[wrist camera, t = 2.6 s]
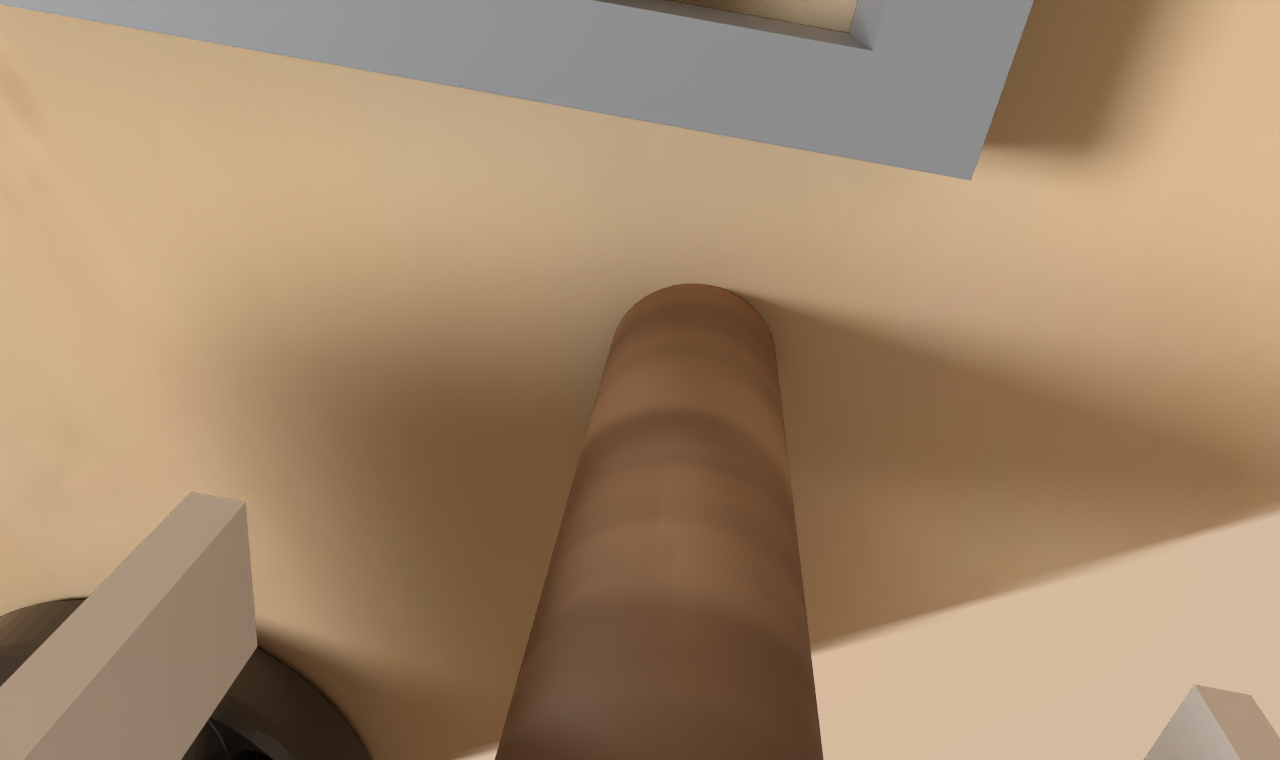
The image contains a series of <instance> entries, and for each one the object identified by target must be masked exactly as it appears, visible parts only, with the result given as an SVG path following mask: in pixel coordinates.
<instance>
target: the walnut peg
mask: <svg viewBox="0 0 1280 760" xmlns="http://www.w3.org/2000/svg"><path fill="white" fill-rule="evenodd" d="M495 760H823V753H822V744H821V736H820V728H819V719H818V712H817V702H816V693H815V685H814V677H813V668H812V660H811V651H810V643H809V634H808V626H807V617H806V609H805V600H804V592H803V583H802V575H801V566H800V558H799V550H798V541H797V533H796V524H795V516H794V507H793V499H792V490H791V482H790V473H789V465H788V456H787V448H786V439H785V431H784V423H783V414H782V406H781V397H780V389H779V380H778V372H777V363H776V355H775V347H774V343H773V339H772V336H771V334H770V331H769V329H768V327H767V325H766V324H765V322H764V320H763V319H762V317H761V316H760V315H759V314H758V313H757V311H756V310H755V309H754V308H753V307H751V306H750V305H749V304H748V303H747V302H745V301H744V300H743V299H741V298H740V297H738V296H736V295H734V294H733V293H731V292H728V291H726V290H723V289H721V288H717V287H713V286H709V285H702V284H682V285H675V286H671V287H667V288H663V289H661V290H658V291H656V292H654V293H652V294H650V295H648V296H646V297H644V298H643V299H642V300H640V301H639V302H638V303H636V304H635V305H634V306H633V307H632V308H631V309H630V310H629V311H628V312H627V314H626V315H625V316H624V318H623V319H622V321H621V322H620V324H619V326H618V328H617V330H616V333H615V335H614V338H613V342H612V345H611V349H610V352H609V356H608V359H607V363H606V367H605V370H604V374H603V377H602V381H601V384H600V388H599V391H598V395H597V399H596V402H595V406H594V409H593V413H592V416H591V420H590V423H589V427H588V431H587V434H586V438H585V441H584V445H583V448H582V452H581V455H580V459H579V463H578V466H577V470H576V473H575V477H574V480H573V484H572V487H571V491H570V495H569V498H568V502H567V505H566V509H565V512H564V516H563V519H562V523H561V526H560V530H559V534H558V537H557V541H556V544H555V548H554V551H553V555H552V558H551V562H550V566H549V569H548V573H547V576H546V580H545V583H544V587H543V590H542V594H541V598H540V601H539V605H538V608H537V612H536V615H535V619H534V622H533V626H532V630H531V633H530V637H529V640H528V644H527V647H526V651H525V654H524V658H523V662H522V665H521V669H520V672H519V676H518V679H517V683H516V686H515V690H514V694H513V697H512V701H511V704H510V708H509V711H508V715H507V718H506V722H505V725H504V729H503V733H502V736H501V740H500V743H499V747H498V750H497V754H496V757H495Z"/></svg>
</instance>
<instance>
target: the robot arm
mask: <svg viewBox="0 0 1280 760" xmlns="http://www.w3.org/2000/svg"><path fill="white" fill-rule="evenodd" d="M0 760H369V758H368V756H367V753H366V751H365V749H364V748H363V746H362V744H361V742H360V741H359V739H358V737H357V736H356V735H355V733H354V732H353V730H352V729H351V727H350V726H349V725H348V723H347V722H346V721H345V720H344V718H343V717H342V716H341V715H340V714H339V712H338V711H337V710H336V709H335V708H334V707H333V706H332V705H331V704H330V703H329V702H328V701H327V700H326V699H325V698H324V697H323V696H322V695H321V694H320V693H319V692H318V691H317V690H316V689H314V688H313V687H312V686H311V685H310V684H309V683H308V682H306V681H305V680H304V679H302V678H301V677H300V676H299V675H297V674H296V673H295V672H293V671H292V670H291V669H289V668H288V667H286V666H285V665H283V664H282V663H281V662H279V661H278V660H276V659H274V658H273V657H271V656H270V655H268V654H266V653H265V652H263V651H261V650H259V649H258V648H257V635H256V622H255V610H254V598H253V586H252V574H251V562H250V550H249V538H248V526H247V514H246V502H241V501H236V500H231V499H225V498H220V497H215V496H210V495H204V494H199V493H194V492H191V493H190V494H189V495H188V496H187V497H186V498H185V499H184V500H183V501H182V502H181V503H180V504H179V505H178V506H177V507H176V508H175V509H174V510H173V511H172V512H171V513H170V514H169V515H168V516H167V517H166V518H165V519H164V520H163V521H162V522H161V523H160V524H159V525H158V526H157V527H156V528H155V529H154V530H153V531H152V532H151V533H150V534H149V536H148V537H147V538H146V539H145V540H144V541H143V542H142V543H141V544H140V545H139V546H138V547H137V548H136V549H135V550H134V551H133V552H132V553H131V554H130V555H129V556H128V557H127V558H126V559H125V560H124V561H123V562H122V563H121V564H120V565H119V566H118V567H117V568H116V569H115V570H114V571H113V572H112V573H111V574H110V575H109V576H108V577H107V578H106V579H105V581H104V582H103V583H102V584H101V585H100V586H99V587H98V588H97V589H96V590H95V591H94V592H93V593H92V594H91V595H90V596H89V597H88V598H87V599H86V600H68V601H57V602H49V603H43V604H37V605H33V606H29V607H25V608H22V609H18V610H15V611H12V612H10V613H7V614H5V615H3V616H1V617H0ZM1144 760H1280V738H1279V736H1278V735H1277V733H1276V732H1275V730H1274V729H1273V728H1272V726H1271V725H1270V723H1269V722H1268V720H1267V719H1266V717H1265V716H1264V714H1263V713H1262V711H1261V710H1260V708H1259V707H1258V705H1257V704H1256V702H1255V701H1254V699H1253V698H1252V696H1250V695H1246V694H1241V693H1236V692H1230V691H1225V690H1220V689H1214V688H1210V687H1204V686H1199V685H1194V686H1193V688H1192V689H1191V690H1190V692H1189V693H1188V695H1187V696H1186V698H1185V699H1184V701H1183V702H1182V704H1181V705H1180V707H1179V708H1178V710H1177V711H1176V713H1175V714H1174V716H1173V717H1172V719H1171V720H1170V722H1169V723H1168V725H1167V726H1166V728H1165V729H1164V730H1163V732H1162V733H1161V735H1160V736H1159V738H1158V739H1157V741H1156V742H1155V744H1154V745H1153V747H1152V748H1151V750H1150V751H1149V752H1148V754H1147V756H1146V757H1145V758H1144Z"/></svg>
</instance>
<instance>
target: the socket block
mask: <svg viewBox="0 0 1280 760" xmlns="http://www.w3.org/2000/svg"><path fill="white" fill-rule="evenodd" d="M1033 2H1034V0H858V1H857V5H856V9H855V13H854V17H853V21H852V24H851V28H850V32H849V33H846V32H841V31H835V30H830V29H824V28H818V27H813V26H807V25H802V24H796V23H791V22H785V21H780V20H774V19H769V18H763V17H758V16H752V15H747V14H741V13H736V12H730V11H725V10H719V9H714V8H708V7H703V6H697V5H692V4H686V3H681V2H675V1H670V0H0V4H3V5H8V6H14V7H19V8H25V9H30V10H36V11H41V12H47V13H52V14H58V15H63V16H69V17H74V18H80V19H85V20H91V21H96V22H102V23H107V24H113V25H118V26H124V27H129V28H135V29H140V30H146V31H151V32H157V33H162V34H168V35H173V36H179V37H184V38H190V39H195V40H201V41H206V42H212V43H217V44H223V45H228V46H234V47H239V48H245V49H250V50H256V51H262V52H267V53H273V54H278V55H284V56H289V57H295V58H300V59H306V60H311V61H317V62H322V63H328V64H333V65H339V66H344V67H350V68H355V69H361V70H366V71H372V72H377V73H383V74H388V75H394V76H399V77H405V78H410V79H416V80H421V81H427V82H432V83H438V84H443V85H449V86H454V87H460V88H465V89H471V90H476V91H482V92H487V93H493V94H498V95H504V96H509V97H515V98H520V99H526V100H531V101H537V102H542V103H548V104H553V105H559V106H564V107H570V108H575V109H581V110H586V111H592V112H598V113H603V114H609V115H614V116H620V117H625V118H631V119H636V120H642V121H647V122H653V123H658V124H664V125H669V126H675V127H680V128H686V129H691V130H697V131H702V132H708V133H713V134H719V135H724V136H730V137H735V138H741V139H746V140H752V141H757V142H763V143H768V144H774V145H779V146H785V147H790V148H796V149H801V150H807V151H812V152H818V153H823V154H829V155H834V156H840V157H845V158H851V159H856V160H862V161H867V162H873V163H878V164H884V165H889V166H895V167H900V168H906V169H911V170H917V171H922V172H928V173H934V174H939V175H945V176H950V177H956V178H961V179H967V180H971V179H972V176H973V173H974V170H975V168H976V165H977V162H978V159H979V156H980V153H981V150H982V148H983V145H984V142H985V139H986V136H987V133H988V130H989V128H990V125H991V122H992V119H993V116H994V113H995V110H996V108H997V105H998V102H999V99H1000V96H1001V93H1002V90H1003V88H1004V85H1005V82H1006V79H1007V76H1008V73H1009V70H1010V67H1011V65H1012V62H1013V59H1014V56H1015V53H1016V50H1017V47H1018V45H1019V42H1020V39H1021V36H1022V33H1023V30H1024V27H1025V25H1026V22H1027V19H1028V16H1029V13H1030V10H1031V7H1032V5H1033Z"/></svg>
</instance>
